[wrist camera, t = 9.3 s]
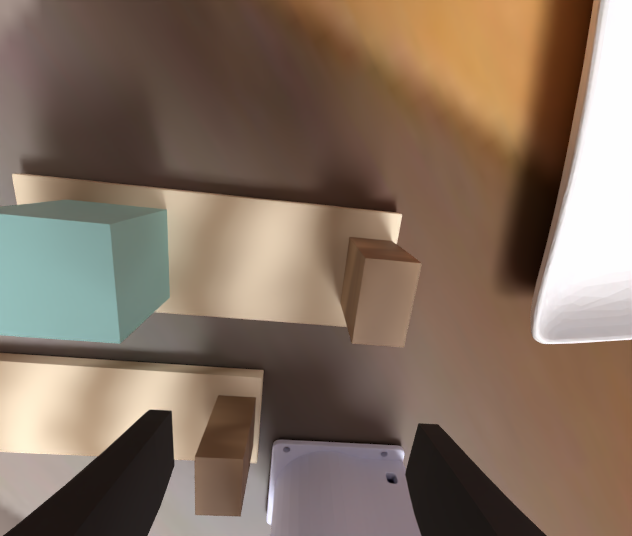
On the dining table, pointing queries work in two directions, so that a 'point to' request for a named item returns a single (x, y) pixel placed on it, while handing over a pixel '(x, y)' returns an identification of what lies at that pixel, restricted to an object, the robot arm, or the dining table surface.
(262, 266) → the strip
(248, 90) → the dining table surface
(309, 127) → the dining table surface
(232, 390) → the empty strip
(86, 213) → the teal block
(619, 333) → the salad plate
